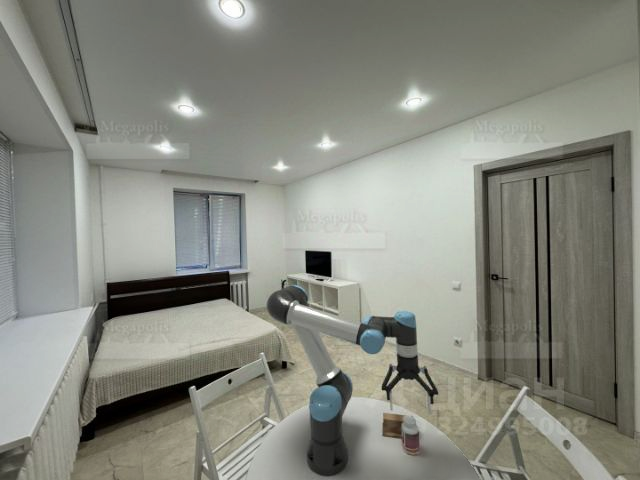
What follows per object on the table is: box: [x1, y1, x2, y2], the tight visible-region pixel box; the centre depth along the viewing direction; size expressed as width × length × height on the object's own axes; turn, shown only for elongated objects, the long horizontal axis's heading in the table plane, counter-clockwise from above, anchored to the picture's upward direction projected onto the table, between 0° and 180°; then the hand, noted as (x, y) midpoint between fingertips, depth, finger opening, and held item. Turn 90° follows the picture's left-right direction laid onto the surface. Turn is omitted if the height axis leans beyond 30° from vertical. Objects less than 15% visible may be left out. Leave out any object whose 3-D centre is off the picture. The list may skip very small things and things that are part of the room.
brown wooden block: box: [381, 412, 414, 440], centre depth 108 cm, size 13×7×6 cm, turn 76°
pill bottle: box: [401, 415, 420, 456], centre depth 100 cm, size 6×6×11 cm
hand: (410, 410), depth 99 cm, fingers open, 13 cm apart
